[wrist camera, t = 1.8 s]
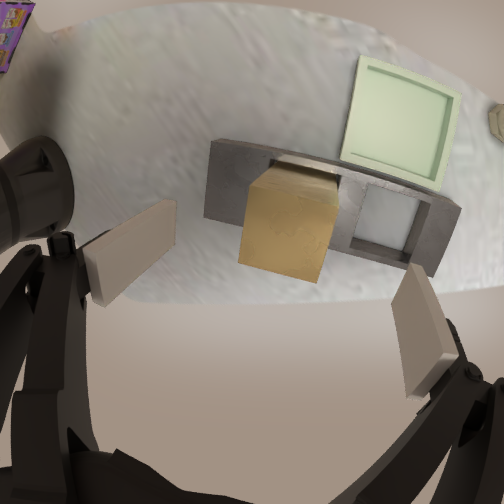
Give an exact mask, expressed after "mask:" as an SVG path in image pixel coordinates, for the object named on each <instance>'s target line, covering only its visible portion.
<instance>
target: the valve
mask: <svg viewBox="0 0 504 504" xmlns="http://www.w3.org/2000/svg"><path fill="white" fill-rule="evenodd" d="M488 116H489V123H490V131H491V134H493V135H494V136H495V137H497V138H498V139H499V140H500V141H502V142H503V143H504V104H498V105H497V106H496V107H495V108H493V109H492V110H491V111H490V112H489V113H488Z"/></svg>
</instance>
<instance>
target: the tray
mask: <svg viewBox="0 0 504 504" xmlns="http://www.w3.org/2000/svg"><path fill="white" fill-rule="evenodd" d="M461 94H462V93H460V92H458V91H456V90H454V89H452V88H449V87H447V86H445V85H443V84H441V83H439V82H436V81H434V80H432V79H429V78H427V77H424V76H422V75H420V74H417V73H414V72H412V71H409V70H406V69H404V68H401V67H398V66H395V65H392V64H389V63H386V62H383V61H380V60H377V59H373V58H370V57H366V56H363V55H360V56H359V58H358V61H357V68H356V74H355V80H354V85H353V91H352V96H351V102H350V107H349V112H348V117H347V122H346V127H345V132H344V137H343V141H342V146H341V150H340V155H339V158H340V160H342V161H346V162H349V163H353V164H357V165H360V166H363V167H367V168H370V169H373V170H377V171H380V172H383V173H386V174H389V175H392V176H395V177H398V178H401V179H404V180H407V181H410V182H413V183H416V184H418V185H421V186H424V187H427V188H429V189H432V190H435V191H437V192H439V191H440V187H441V184H442V181H443V177H444V174H445V170H446V167H447V163H448V159H449V155H450V151H451V147H452V143H453V138H454V134H455V129H456V124H457V119H458V113H459V107H460V101H461Z"/></svg>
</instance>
